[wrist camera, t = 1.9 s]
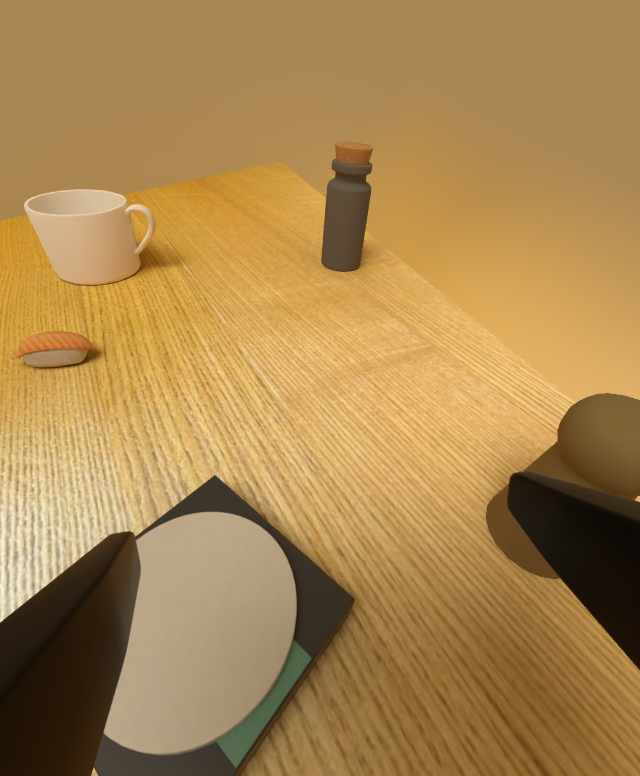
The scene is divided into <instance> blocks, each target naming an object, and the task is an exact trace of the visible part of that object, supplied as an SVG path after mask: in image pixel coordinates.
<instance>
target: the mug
mask: <svg viewBox="0 0 640 776" xmlns="http://www.w3.org/2000/svg"><path fill="white" fill-rule="evenodd" d="M24 209H25V211H26V213H27V215H28V217H29V219H30V221H31V223H32V225H33V228H34V230H35V232H36V234H37V236H38V238H39V240H40V242H41V244H42V246H43V248H44V250H45V252H46V254H47V256H48V258H49V260H50V262H51V264H52V266H53V268H54V270H55V273H56V275H57V276H58V277H59V278H60V279H62V280H64V281H66V282H69V283H73V284H79V285H100V284H108V283H113V282H117V281H120V280H123V279H125V278H128V277H130V276H132V275H133V274H135V273H136V272H137V271H138V270H139V268H140V265H141V263H140V258H139V253H141V252H142V251H143V250H144V248H145V247H146V246H147V244H148V243H149V242H150V240H151V239H152V237H153V236H154V234H155V229H156V222H155V219H154V216H153V214H152V212H151V211H150V209H148V208H147V207H145V206H144V205H140V204H134V205H131V206H128V202H127V200H126V198H125V197H123V196H122V195H120V194H117V193H114V192H108V191H102V190H65V191H56V192H50V193H45V194H42V195H38V196H35V197H33V198H30V199H28V200H27V201H26V202H25V205H24ZM135 211H137V212H141V213H143V214H144V215H145V216H146V218H147V220H148V223H149V231H148V233H147V235H146V236H145V238H144V239H143V240H142V242H141V243H140V244H139V246H138V247H137V244H136V239H135V234H134V230H133V225H132V220H131V216H130V213H131V212H135Z"/></svg>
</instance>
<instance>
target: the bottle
mask: <svg viewBox="0 0 640 776" xmlns="http://www.w3.org/2000/svg"><path fill="white" fill-rule="evenodd" d="M335 148H336V159H334V160H333V161H332V169H333V170H334V171H336V176H335V178H334V179H332V180H331V181H329V183H328V186H327V196H326V208H325V221H324V233H323V245H322V264H323V265H324V266H326V267H327V268H330V269H333V270H337V271H351V270H355V269H357V268H358V267H359V265H360V260H361V254H362V247H363V241H364V235H365V228H366V222H367V215H368V209H369V202H370V195H371V186H370V185H369V184H368V183H367V182H366V175H368V174H370V173H371V169H372V164H371V163H369V159H370V156H371V153H372V150H373V147H372V146H370V145H366V144H362V143H355V142H338V143H336V144H335Z"/></svg>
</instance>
